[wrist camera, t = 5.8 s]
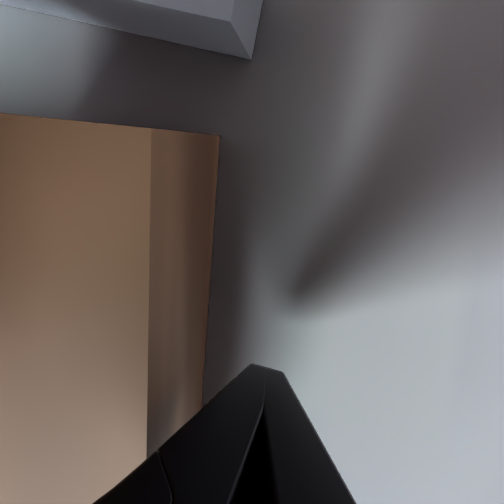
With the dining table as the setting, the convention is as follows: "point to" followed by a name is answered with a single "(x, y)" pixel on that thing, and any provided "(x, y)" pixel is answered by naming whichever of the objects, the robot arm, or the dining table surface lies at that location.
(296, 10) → the dining table surface
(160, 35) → the white angled frame
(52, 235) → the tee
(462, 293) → the dining table surface
